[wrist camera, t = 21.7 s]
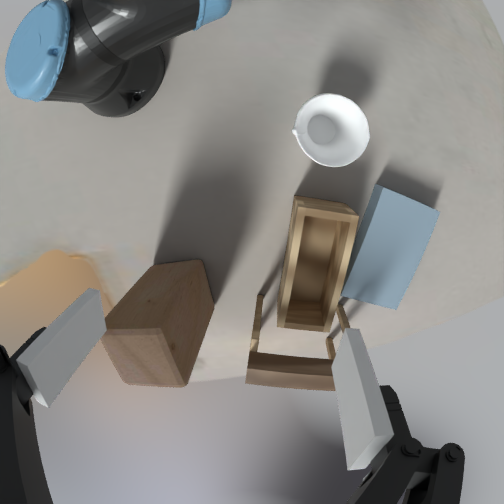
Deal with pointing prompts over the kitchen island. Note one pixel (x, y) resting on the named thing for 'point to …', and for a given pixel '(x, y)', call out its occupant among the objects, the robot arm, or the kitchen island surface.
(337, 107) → the cup
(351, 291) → the lid
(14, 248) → the kitchen island surface
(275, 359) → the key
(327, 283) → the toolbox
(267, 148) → the kitchen island surface
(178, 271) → the wooden block
